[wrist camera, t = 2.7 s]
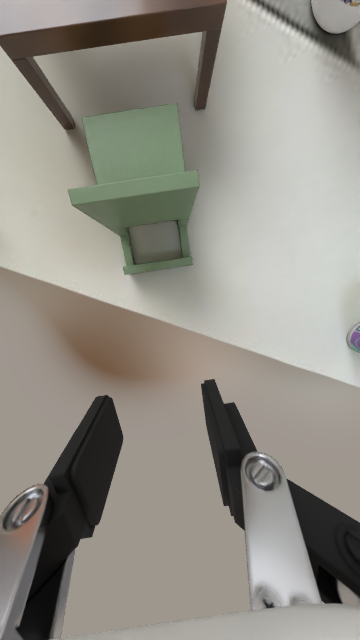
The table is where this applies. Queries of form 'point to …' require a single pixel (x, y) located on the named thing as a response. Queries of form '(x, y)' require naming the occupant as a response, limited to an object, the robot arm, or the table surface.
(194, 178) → the chair
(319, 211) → the table surface
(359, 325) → the spray can
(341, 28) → the bath foam
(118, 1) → the side table
